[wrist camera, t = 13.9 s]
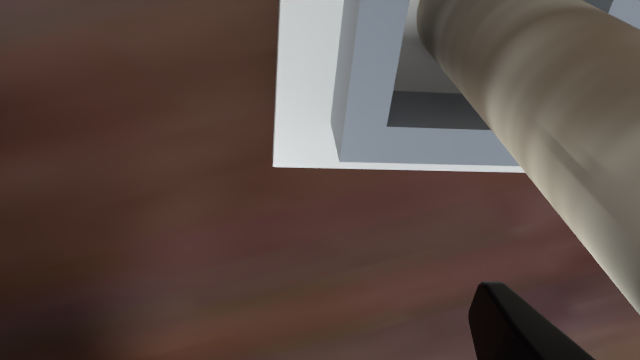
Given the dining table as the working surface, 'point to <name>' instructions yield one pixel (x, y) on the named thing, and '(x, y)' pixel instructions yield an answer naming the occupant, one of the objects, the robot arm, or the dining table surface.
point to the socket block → (378, 92)
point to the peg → (556, 108)
